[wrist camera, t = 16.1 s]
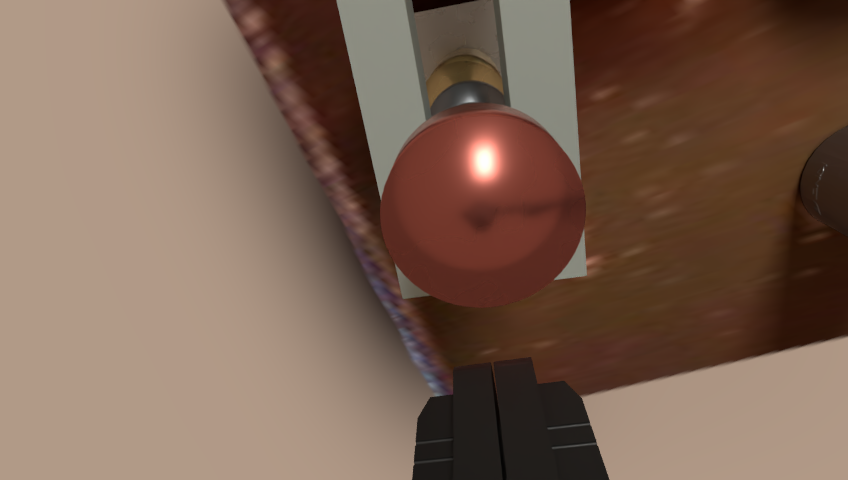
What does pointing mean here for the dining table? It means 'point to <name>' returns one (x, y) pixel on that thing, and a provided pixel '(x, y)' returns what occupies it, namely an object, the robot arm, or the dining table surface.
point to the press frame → (407, 93)
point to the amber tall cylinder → (462, 71)
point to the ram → (481, 201)
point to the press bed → (457, 32)
